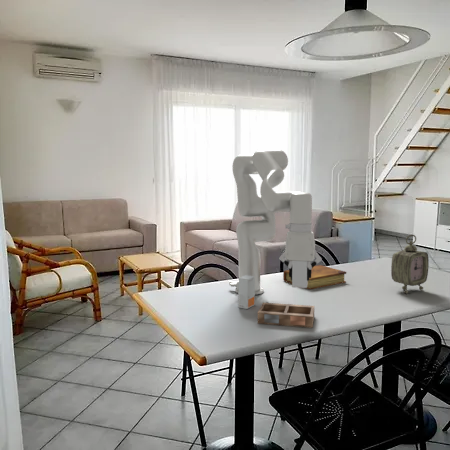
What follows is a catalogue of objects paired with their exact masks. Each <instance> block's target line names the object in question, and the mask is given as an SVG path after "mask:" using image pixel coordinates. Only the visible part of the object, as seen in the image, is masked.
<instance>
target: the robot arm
mask: <svg viewBox="0 0 450 450" xmlns="http://www.w3.org/2000/svg"><path fill="white" fill-rule="evenodd" d="M288 164H289V158H288V155H287V154H286V152H285V151H283V150H282V149H259V150H257V151H255V152H253V153H243V154H238V155H237V156H236V157H235V158H234V159H233V162H232V174H233V178H234V182H235V184H236V194H237V208H238V214H239V215H240V216H241V217H242V218H261V219H252V220H251V219H250V220H249V219H248V220H243V221H241V222H239V223H238V224H237V226H236V230H235V231H236V232H235V234H236V239H237V247H238V249H237V250H238V279H239V278H240V277H242V276H245V275H249V276H255V296H256V295H261V294H263V293H264V292H265V289H264V288H263V287H262V286H261V251H260V248H259V247H258V246H257V244H256V243H259V242H269V241H270V242H271V241H272V240H274V239H275V237H276V235H277V234H276V232H277V228H276V227H277V225H276V213H277V214H278V213H289V223H287V224H285V229H288V230H289V231H287V234H286V238H285V249H284V251H283V252H282V254H281V255H280V256H279V258H278V259H279V260H280V261H281V262H282V263H283V264H284V265H285V266H286V267H287V268H288V270H289V277H291V280H292V261H307V265H308V269H307V281H309V278H311V269H312V268H313V267H314V266H317V265H318V264H319V263H321V262H322V259H323V258H322V257H321V256H320V255H319V253H318V252H317V251H316V239H315V233H314V232H313V231H312V230H313V229H312V226H313V225H312V224H313V223H312V222H313V221H312V220H313V219H312V217H313V216H312V215H313V211H312V210H313V196H312V194H311V193H309V192H302V191H298V190H287V191H286V190H285V191H283V190H282V191H279V190H278V191H275V190H274V189H273V188H276V187H278V185H280V184H281V183H282V182H283V180H284V179H285V171H284V170H286V169H287V166H288ZM251 175H259V177H260V178H261V180H262V181H261V184H260V194H258V191H257V189H258V188H257V183H256V181H255V180H254V179H253V177H252V176H251ZM229 286H230V287H231V288H232V287H235V289H234V290H235V291H234V292H235V293H236V294H238V295H239V280H236V281H234V280H230V281H229Z"/></svg>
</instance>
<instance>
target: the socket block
mask: <svg viewBox="0 0 450 450" xmlns="http://www.w3.org/2000/svg"><path fill="white" fill-rule="evenodd" d="M314 320H315V305H307V304H305V305H304V304H293V303H291V304H290V303H280V302H279V303H278V302H277V303H276V302H275V303H274V302H262V303H261V305H260V307H259V309H258V311H257V324H258V325H271V326H285V327H295V328H296V327H297V328H307V329H308V328H309V329H312V328H313V327H314Z"/></svg>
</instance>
